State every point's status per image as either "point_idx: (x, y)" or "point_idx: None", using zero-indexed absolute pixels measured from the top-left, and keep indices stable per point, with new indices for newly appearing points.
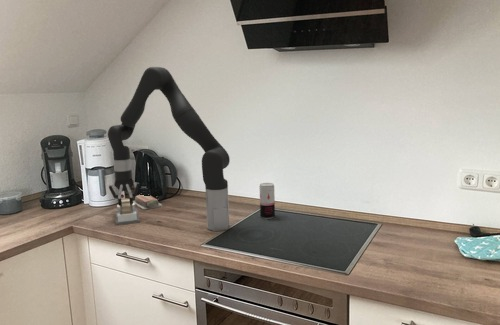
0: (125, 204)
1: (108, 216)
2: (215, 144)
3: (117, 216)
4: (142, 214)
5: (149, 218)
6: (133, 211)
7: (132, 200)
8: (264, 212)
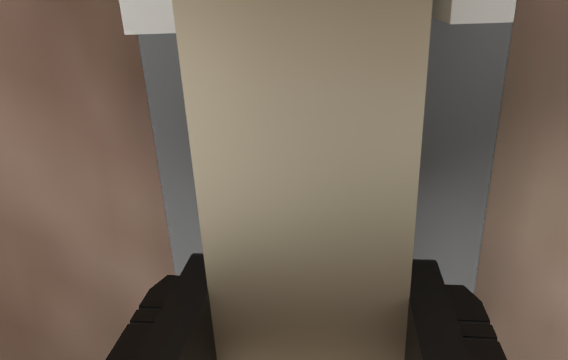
0: (314, 165)
1: (555, 322)
2: None
3: (458, 199)
4: (127, 230)
5: (3, 12)
6: None
7: (130, 331)
8: None
